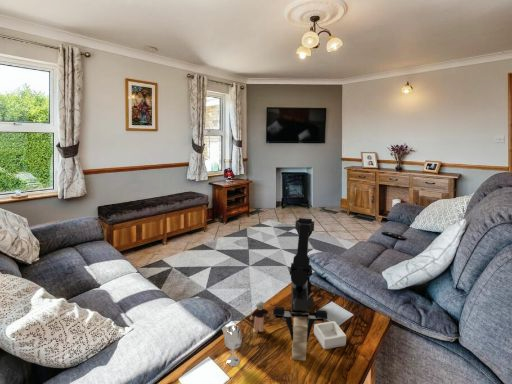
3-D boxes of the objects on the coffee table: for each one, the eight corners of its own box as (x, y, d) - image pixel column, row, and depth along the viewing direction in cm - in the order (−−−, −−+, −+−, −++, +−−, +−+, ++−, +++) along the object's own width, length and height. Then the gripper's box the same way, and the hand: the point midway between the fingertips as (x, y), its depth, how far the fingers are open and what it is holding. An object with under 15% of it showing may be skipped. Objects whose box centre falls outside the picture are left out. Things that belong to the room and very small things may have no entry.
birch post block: (292, 359, 98) (293, 325, 95) (292, 349, 102) (293, 317, 100) (305, 360, 97) (307, 326, 95) (304, 350, 102) (306, 318, 99)
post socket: (324, 349, 103) (324, 339, 102) (313, 333, 111) (314, 324, 110) (345, 345, 105) (346, 335, 104) (333, 330, 113) (334, 321, 112)
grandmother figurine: (253, 336, 109) (253, 306, 106) (248, 330, 112) (249, 301, 109) (270, 330, 112) (271, 301, 110) (265, 324, 115) (266, 296, 113)
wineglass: (224, 355, 99) (224, 324, 97) (241, 354, 100) (241, 323, 97) (224, 368, 94) (224, 336, 91) (242, 367, 94) (242, 335, 92)
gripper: (274, 286, 100) (271, 335, 91) (328, 289, 98) (331, 340, 90) (274, 294, 109) (272, 340, 101) (324, 297, 107) (326, 344, 99)
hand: (299, 341), depth 97 cm, fingers closed on birch post block, 4 cm apart
